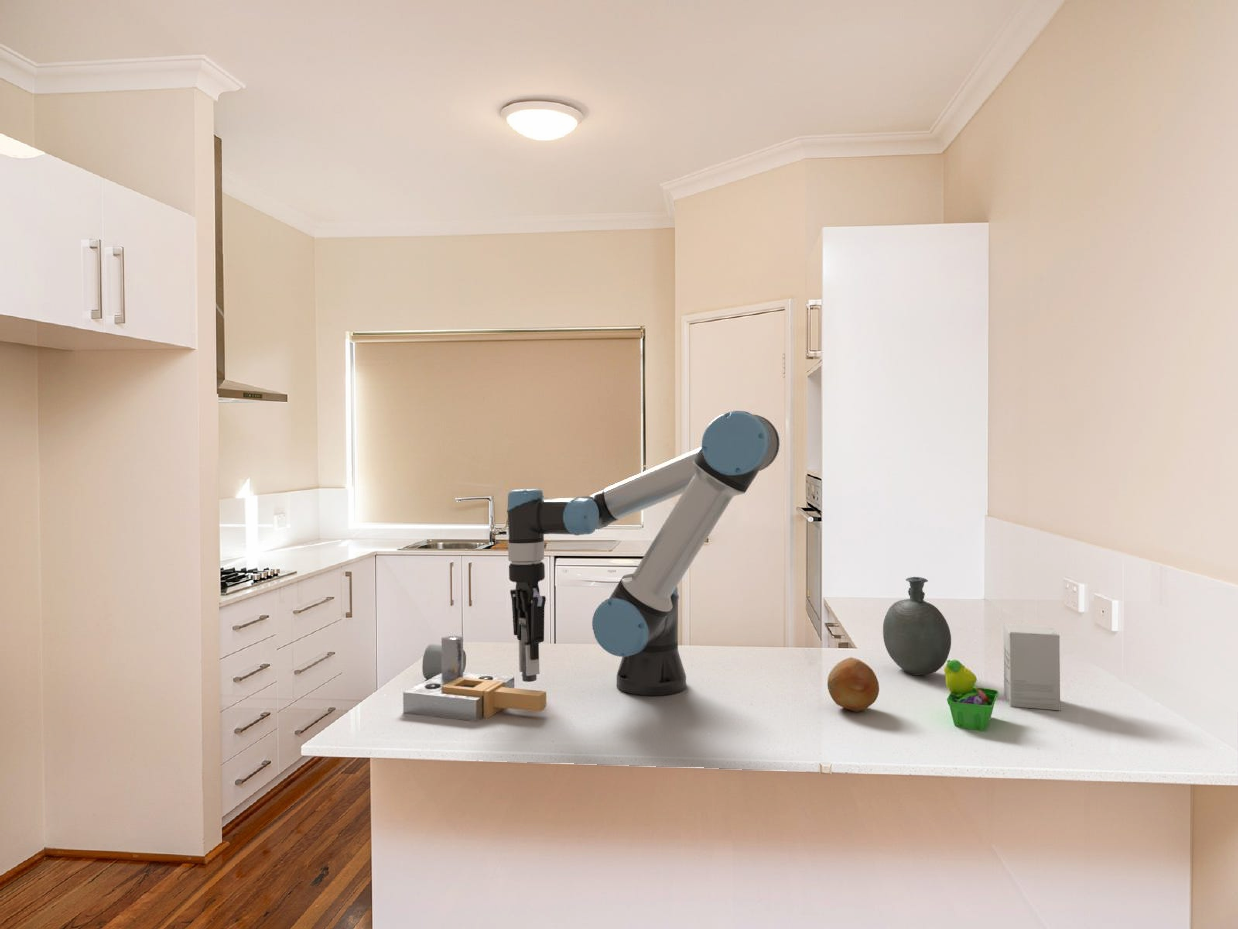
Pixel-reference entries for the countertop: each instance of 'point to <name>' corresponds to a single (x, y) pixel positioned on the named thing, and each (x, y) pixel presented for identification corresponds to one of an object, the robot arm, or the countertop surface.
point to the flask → (916, 632)
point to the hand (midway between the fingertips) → (529, 672)
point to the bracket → (498, 695)
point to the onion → (853, 685)
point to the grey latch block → (444, 704)
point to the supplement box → (1032, 666)
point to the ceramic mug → (435, 661)
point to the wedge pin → (524, 639)
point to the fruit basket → (968, 698)
